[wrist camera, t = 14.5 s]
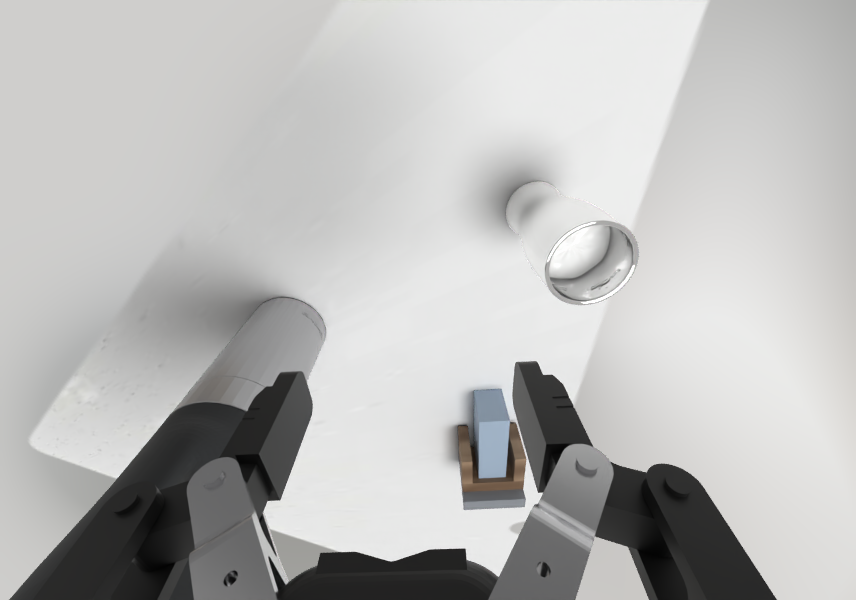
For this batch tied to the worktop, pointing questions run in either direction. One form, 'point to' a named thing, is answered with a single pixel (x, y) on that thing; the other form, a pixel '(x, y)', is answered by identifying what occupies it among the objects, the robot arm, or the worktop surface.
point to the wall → (493, 499)
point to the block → (510, 482)
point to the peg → (491, 433)
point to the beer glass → (572, 244)
